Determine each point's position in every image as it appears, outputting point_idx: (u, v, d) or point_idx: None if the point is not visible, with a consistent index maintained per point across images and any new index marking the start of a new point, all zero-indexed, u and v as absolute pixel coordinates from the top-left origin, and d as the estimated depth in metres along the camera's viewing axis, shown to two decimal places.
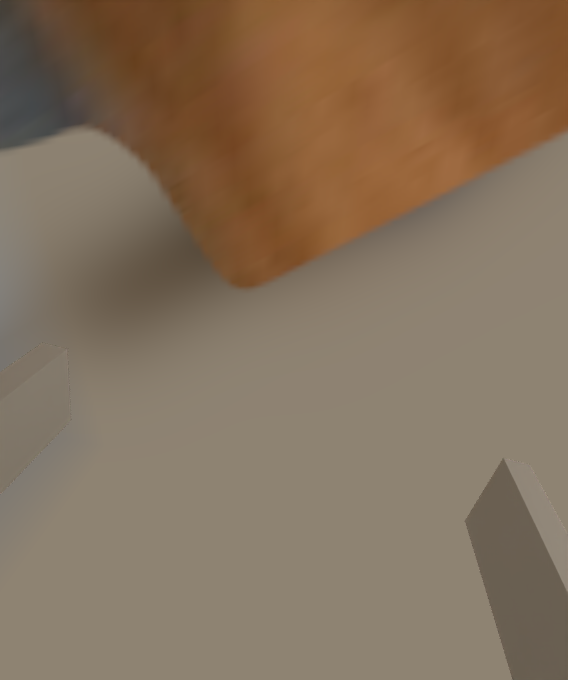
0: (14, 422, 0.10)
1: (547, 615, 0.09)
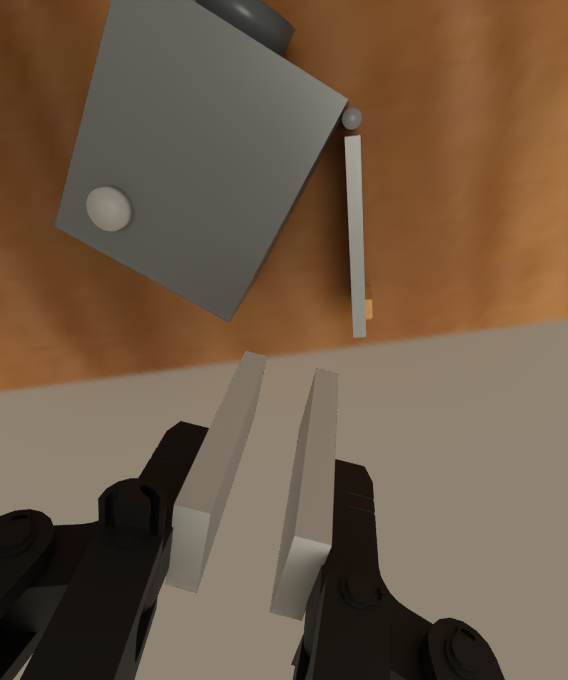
0: (248, 419, 0.12)
1: (299, 468, 0.11)
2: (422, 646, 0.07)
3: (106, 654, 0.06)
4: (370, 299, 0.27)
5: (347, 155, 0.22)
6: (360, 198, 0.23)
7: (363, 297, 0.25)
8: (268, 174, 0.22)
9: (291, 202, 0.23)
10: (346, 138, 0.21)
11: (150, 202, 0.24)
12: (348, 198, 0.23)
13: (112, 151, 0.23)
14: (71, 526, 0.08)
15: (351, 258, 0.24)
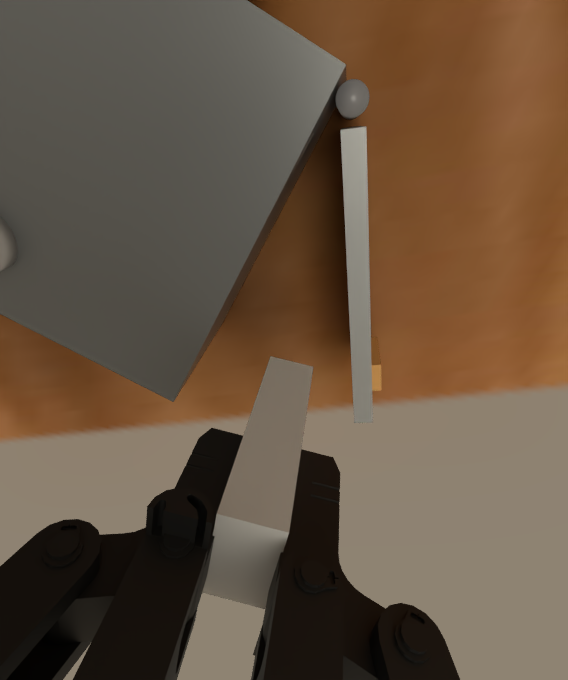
0: None
1: None
2: (373, 633, 0.07)
3: (152, 667, 0.06)
4: (378, 364, 0.19)
5: (345, 160, 0.13)
6: (365, 227, 0.14)
7: (369, 370, 0.17)
8: (217, 189, 0.14)
9: (256, 234, 0.14)
10: (343, 132, 0.13)
11: (40, 232, 0.15)
12: (346, 227, 0.14)
13: None
14: (115, 535, 0.08)
15: (351, 315, 0.16)
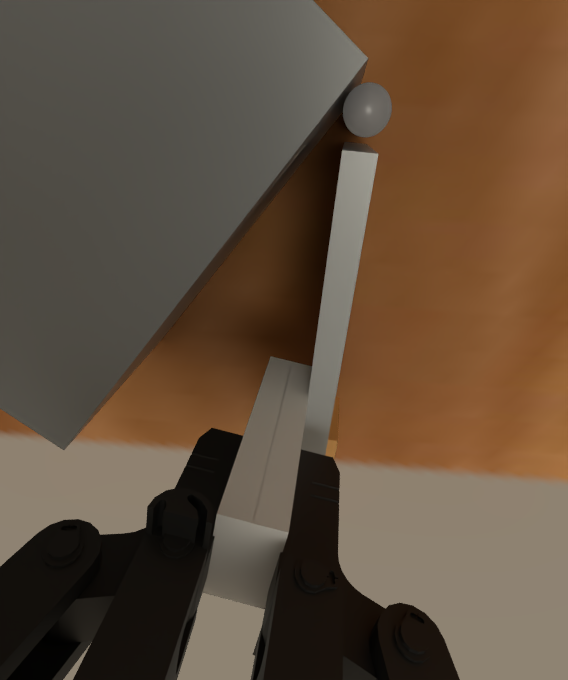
0: None
1: None
2: (372, 633, 0.07)
3: (153, 667, 0.06)
4: (335, 440, 0.15)
5: (340, 192, 0.10)
6: (351, 286, 0.11)
7: None
8: (155, 195, 0.10)
9: (201, 267, 0.10)
10: (345, 154, 0.09)
11: None
12: (326, 281, 0.11)
13: None
14: (115, 536, 0.08)
15: (312, 389, 0.12)
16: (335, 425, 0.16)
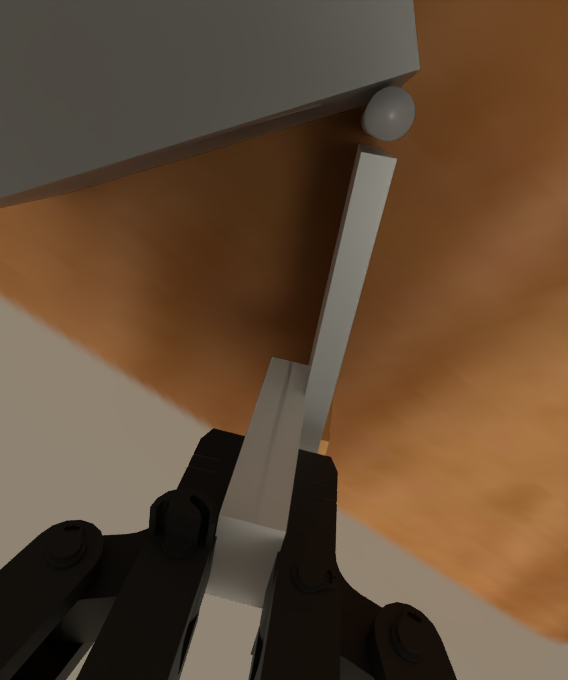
0: None
1: None
2: (369, 633, 0.07)
3: (155, 668, 0.06)
4: (326, 440, 0.15)
5: (356, 194, 0.10)
6: (358, 289, 0.11)
7: None
8: (151, 39, 0.08)
9: (156, 145, 0.09)
10: (364, 156, 0.09)
11: None
12: (333, 282, 0.11)
13: None
14: (117, 536, 0.08)
15: (309, 389, 0.12)
16: (327, 425, 0.16)
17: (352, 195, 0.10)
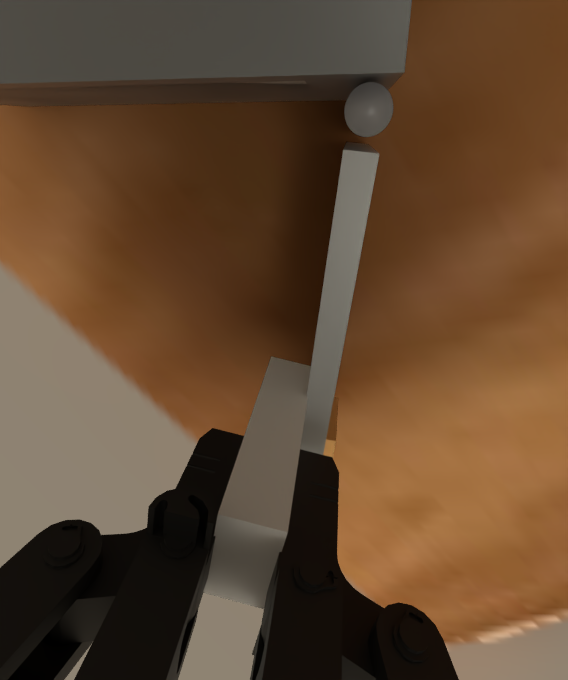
0: None
1: None
2: (370, 633, 0.07)
3: (153, 667, 0.06)
4: (333, 440, 0.15)
5: (341, 192, 0.10)
6: (351, 286, 0.11)
7: None
8: None
9: (126, 75, 0.09)
10: (346, 153, 0.09)
11: None
12: (326, 280, 0.11)
13: None
14: (116, 536, 0.08)
15: (310, 389, 0.12)
16: (333, 425, 0.16)
17: (338, 193, 0.10)
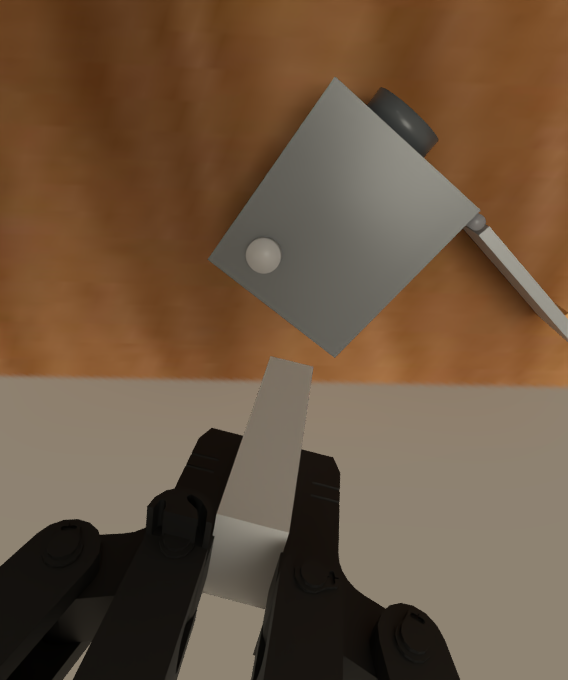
0: None
1: None
2: (373, 634, 0.07)
3: (152, 667, 0.06)
4: (567, 313, 0.31)
5: (488, 243, 0.28)
6: (516, 261, 0.28)
7: (566, 319, 0.29)
8: (402, 251, 0.28)
9: (414, 275, 0.28)
10: (480, 235, 0.27)
11: (297, 255, 0.29)
12: (507, 267, 0.28)
13: (278, 211, 0.28)
14: (115, 536, 0.08)
15: (537, 301, 0.29)
16: (561, 309, 0.31)
17: (487, 245, 0.28)
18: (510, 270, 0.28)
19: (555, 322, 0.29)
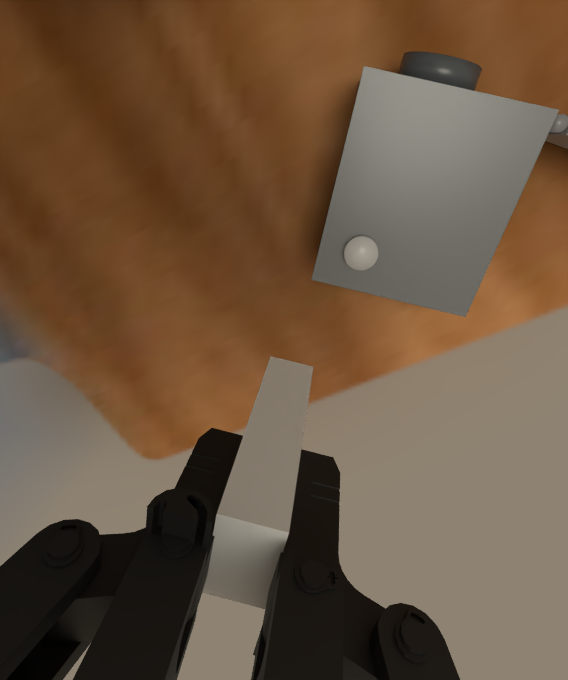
0: None
1: None
2: (372, 633, 0.07)
3: (152, 667, 0.06)
4: None
5: None
6: None
7: None
8: (492, 187, 0.27)
9: (515, 203, 0.27)
10: None
11: (391, 238, 0.30)
12: None
13: (358, 208, 0.29)
14: (115, 535, 0.08)
15: None
16: None
17: None
18: None
19: None
